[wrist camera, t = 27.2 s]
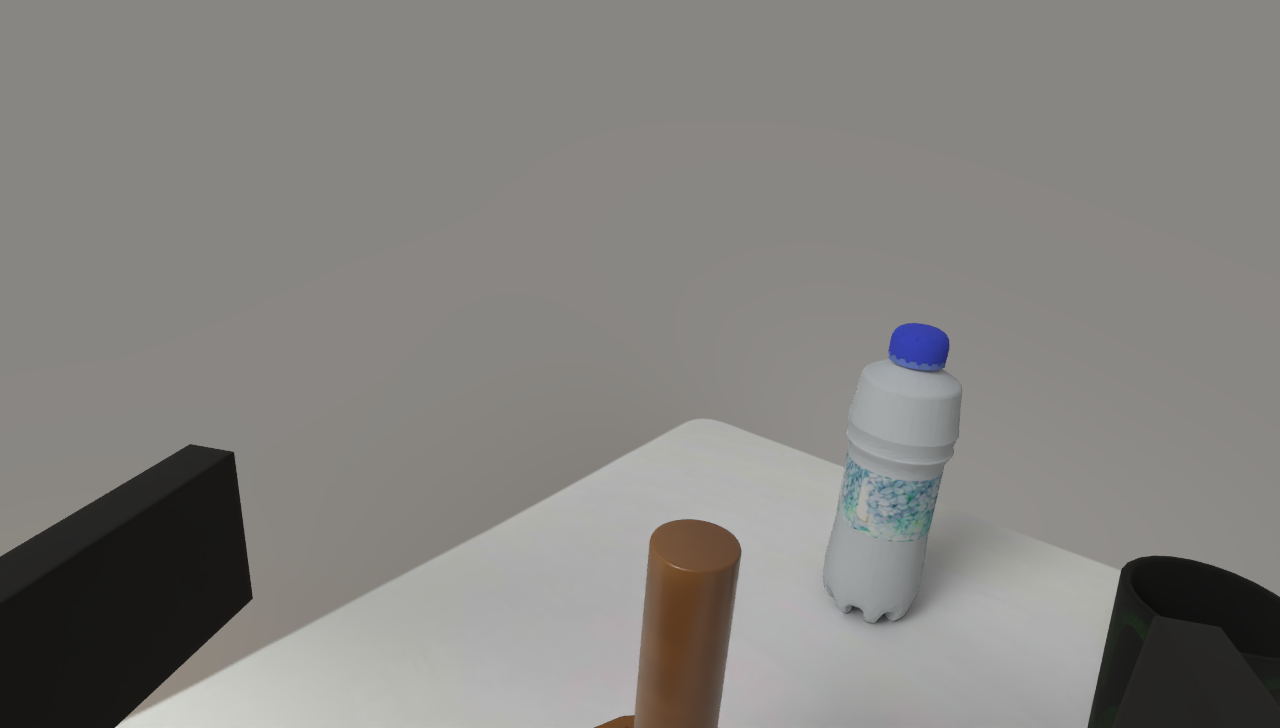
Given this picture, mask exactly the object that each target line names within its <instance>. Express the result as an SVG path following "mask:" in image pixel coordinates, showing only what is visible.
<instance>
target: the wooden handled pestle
mask: <svg viewBox="0 0 1280 728" xmlns="http://www.w3.org/2000/svg"><path fill="white" fill-rule="evenodd" d="M740 559H741V547H740V544H739V542H738V540H737V539H736V537H735V536H734V535H733V534H732V533H730V532H729V531H728V530H726V529H724V528H723V527H721V526H718V525H716V524H713V523H710V522H706V521H701V520H692V519H685V520H676V521H671V522H668V523H665V524H663V525H661V526H660V527H658V528H657V529H656V530H655V531H654V532H653V534H652V536H651V538H650V545H649V556H648V568H647V579H646V590H645V602H644V613H643V625H642V636H641V648H640V659H639V671H638V682H637V694H636V705H635V717H634V728H717V727H718V719H719V712H720V705H721V698H722V690H723V683H724V676H725V668H726V661H727V654H728V646H729V639H730V632H731V625H732V617H733V610H734V603H735V595H736V588H737V581H738V574H739V566H740Z"/></svg>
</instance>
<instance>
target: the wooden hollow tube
mask: <svg viewBox="0 0 1280 728" xmlns="http://www.w3.org/2000/svg"><path fill="white" fill-rule="evenodd" d="M634 717H635V715H633V716H623V717H619V718H617V719H614V720H612V721H609V722H607V723H604V724H602V725H599V726H597V727H594V728H634Z"/></svg>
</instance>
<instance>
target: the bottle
mask: <svg viewBox="0 0 1280 728" xmlns="http://www.w3.org/2000/svg"><path fill="white" fill-rule="evenodd" d="M948 351H949V339H948V337H947V335H946V334H945V333H944V332H943V331H941V330H940V329H938V328H936V327H933V326H930V325H925V324H918V323H911V324H910V323H909V324H905V325H901V326H899V327H898V328H897V329H895V331H894V332H893V334H892V337H891V341H890V346H889V359H885V360H881V361H877V362H873V363H870V364H869V365H867V366H866V367H865V368H864V369H863V371H862V374H861V377H860V380H859V383H858V386H857V389H856V392H855V395H854V398H853V401H852V404H851V406H850V409H849V411H848V420H849V424H848V426H847V429H846V435H847V438H848V441H849V448H848V453H847V458H846V464H845V469H844V475H843V480H842V485H841V491H840V496H839V502H838V508H837V514H836V518H835V522H834V525H833V529H832V533H831V536H830V540H829V544H828V548H827V552H826V556H825V563H824V570H823V580H824V586H825V589H826V591H827V593H828V594H829V595H830V596H832V597H834V600H835V603H836V606H837V607H838V608H839V609H840V610H841V611H843V612H844V613H848V612H850V611H851V609H852V606H855V607H858V608H860V609H861V610H862V611H863V618H864V620H865V621H866V622H871V623H874V622H876V621H877V620H878V619H879V618H880V616H881V615H882V614H884V613H885V616H886V617H887V618H888V619H889V620H891V621H895V620H898V619H899V618H901V617H903V616H904V614H905V613H906V612H907V611H908V609H909V607H910V605H911V603H912V602H913V600H914V598H915V597H916V595H917V592H918V589H919V587H920V582H921V577H922V571H923V565H924V558H925V550H926V543H927V537H928V533H929V529H930V525H931V521H932V517H933V512H934V508H935V504H936V499H937V495H938V490H939V486H940V482H941V478H942V473H943V469H944V465H945V464H946V462H947V461H948V460H949V459H950V458H951V457H952V456H953V453H954V449H953V447H954V444H955V442H956V440H957V439H958V437H959V421H960V407H961V397H962V387H961V384H960V383H959V381H958V380H957V379H956V378H955V377H953V376H952V375H950V374H949V373H947V372H946V371H945V370H943V369H942V368H944V367H945V363H946V359H947V356H948Z"/></svg>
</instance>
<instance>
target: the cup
mask: <svg viewBox="0 0 1280 728" xmlns="http://www.w3.org/2000/svg"><path fill="white" fill-rule="evenodd" d="M1154 615H1155V616H1161V617H1166V618H1172V619H1178V620H1183V621H1189V622H1194V623H1200V624H1206V625H1211V626H1217V627H1221V629H1222V630H1223V631H1224V633H1225V634H1226V635H1227V637H1228V638H1229V639H1230V641H1231V642H1232V643H1233V645H1234V646H1235V647H1236V649H1237V650H1238V651H1239V653H1240V654H1241V655H1242V657H1243V658H1244V659H1245V661H1246V662H1247V663H1248V665H1249V666H1250V667H1251V669H1252V670H1253V671H1254V673H1255V674H1256V675H1257V677H1258V678H1259V679H1260V681H1261V682H1262V683H1263V685H1264V686H1265V687H1266V689H1267V690H1268V691H1269V693H1270V694H1271V696H1272V697H1273V698H1274V700H1275V701H1276V702H1277V704H1278V705H1279V706H1280V597H1279V596H1277V595H1276V594H1274V593H1272V592H1270V591H1269V590H1267V589H1265V588H1264V587H1262V586H1260V585H1258V584H1256V583H1254V582H1252V581H1250V580H1248V579H1246V578H1244V577H1241V576H1239V575H1237V574H1235V573H1232V572H1229V571H1226V570H1224V569H1221V568H1218V567H1215V566H1212V565H1209V564H1205V563H1202V562H1198V561H1194V560H1190V559H1184V558H1177V557H1171V556H1149V557H1141V558H1138V559H1135V560H1133V561H1130V562H1128V563H1127V564H1126V565H1125V566H1124V567H1123V568H1122V570H1121V574H1120V579H1119V584H1118V588H1117V593H1116V597H1115V602H1114V607H1113V611H1112V616H1111V621H1110V625H1109V630H1108V635H1107V639H1106V644H1105V649H1104V653H1103V658H1102V663H1101V667H1100V672H1099V677H1098V681H1097V686H1096V690H1095V695H1094V700H1093V704H1092V709H1091V714H1090V718H1089V723H1088V728H1111V727H1112V725H1113V722H1114V719H1115V717H1116V714H1117V712H1118V709H1119V706H1120V704H1121V701H1122V699H1123V696H1124V693H1125V691H1126V688H1127V685H1128V683H1129V680H1130V678H1131V675H1132V672H1133V670H1134V667H1135V665H1136V662H1137V659H1138V657H1139V654H1140V652H1141V649H1142V646H1143V644H1144V641H1145V638H1146V636H1147V633H1148V631H1149V628H1150V625H1151V623H1152V620H1153V618H1154Z"/></svg>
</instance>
